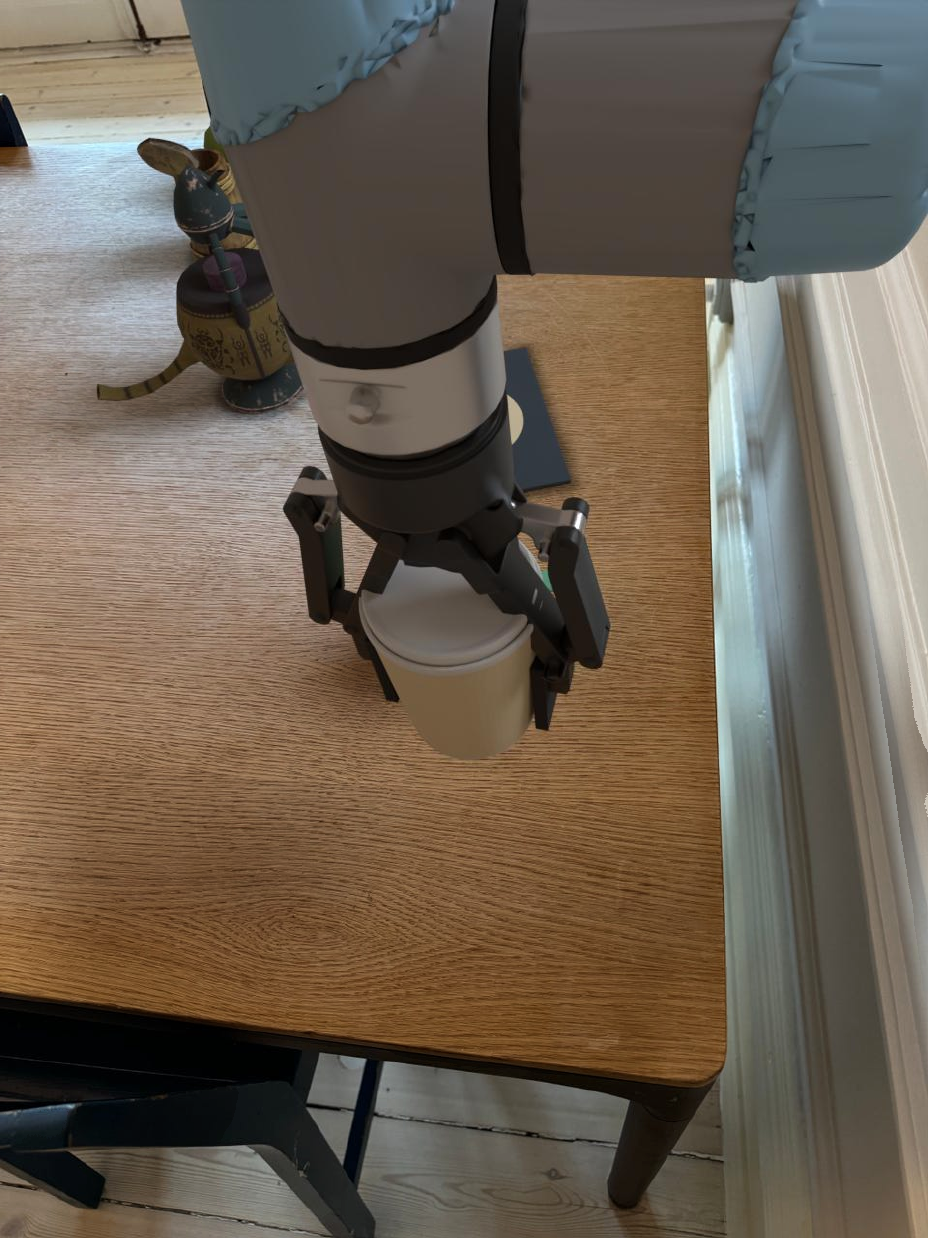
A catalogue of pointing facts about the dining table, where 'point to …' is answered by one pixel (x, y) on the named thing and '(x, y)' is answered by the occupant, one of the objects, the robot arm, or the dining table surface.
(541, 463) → the place mat
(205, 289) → the teapot
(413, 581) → the coffee cup
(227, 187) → the wooden mug
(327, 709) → the dining table surface
